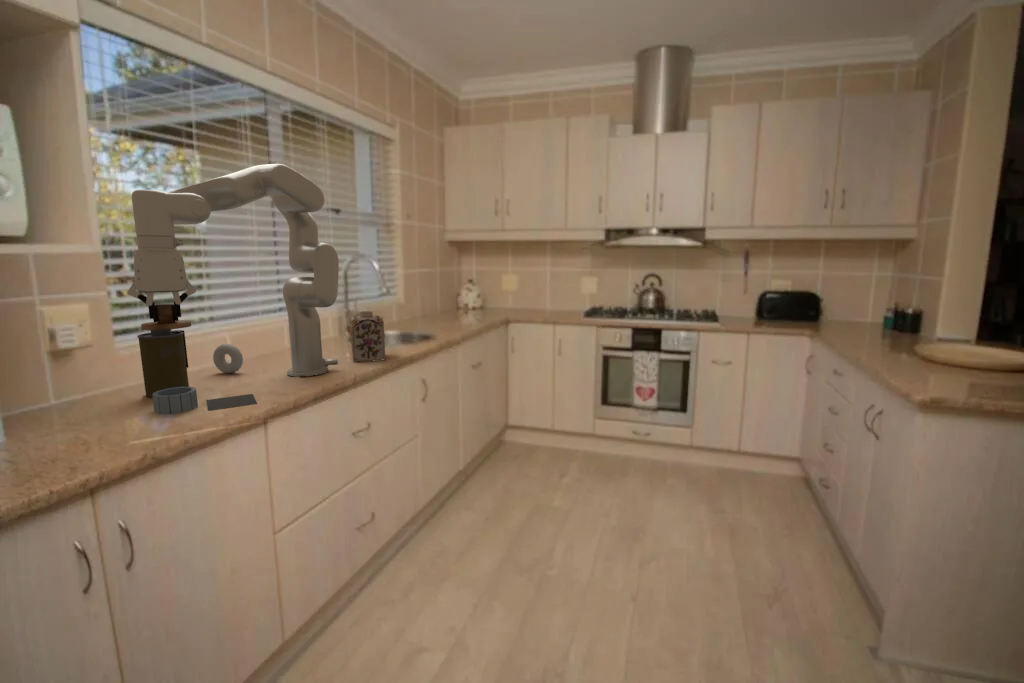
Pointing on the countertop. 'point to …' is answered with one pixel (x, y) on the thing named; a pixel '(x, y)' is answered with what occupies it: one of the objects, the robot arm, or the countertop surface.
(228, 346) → the donut
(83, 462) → the countertop surface
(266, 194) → the robot arm
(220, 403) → the mat
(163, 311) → the lid
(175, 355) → the canister
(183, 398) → the grey short cylinder
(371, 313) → the decorative jar
